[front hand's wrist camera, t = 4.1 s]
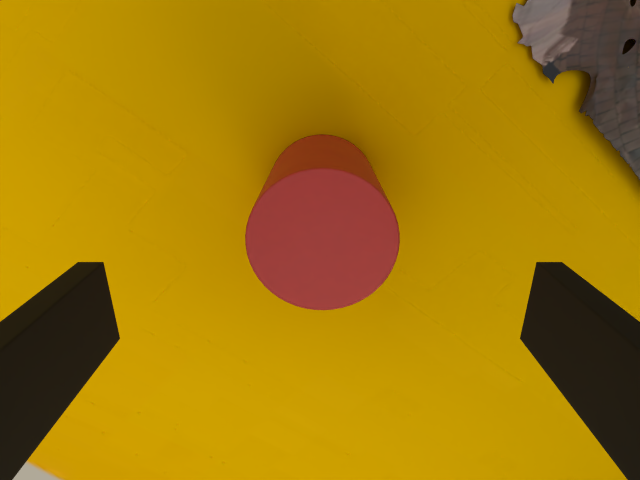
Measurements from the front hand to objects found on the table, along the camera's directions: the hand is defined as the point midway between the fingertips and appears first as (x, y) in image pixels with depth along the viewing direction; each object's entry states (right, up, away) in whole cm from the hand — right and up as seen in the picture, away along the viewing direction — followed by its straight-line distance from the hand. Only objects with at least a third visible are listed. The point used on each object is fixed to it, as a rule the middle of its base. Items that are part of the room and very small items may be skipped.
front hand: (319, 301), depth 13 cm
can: (0, +5, +11) cm, 12 cm away
